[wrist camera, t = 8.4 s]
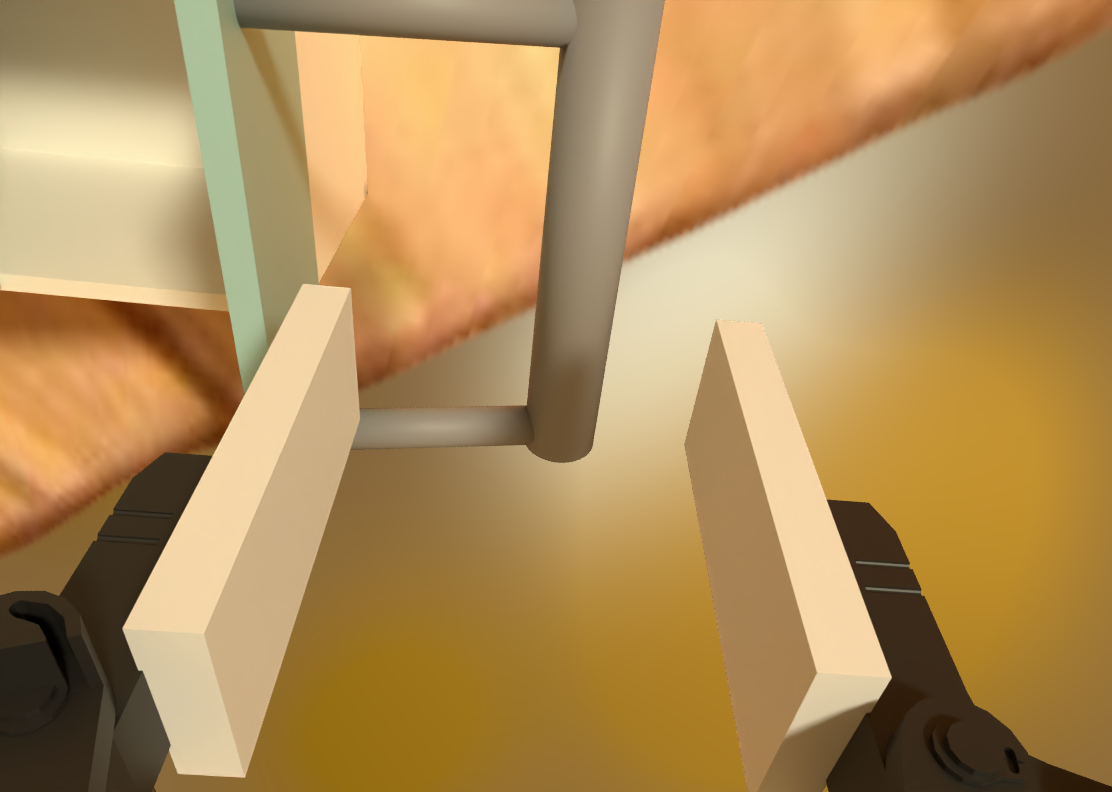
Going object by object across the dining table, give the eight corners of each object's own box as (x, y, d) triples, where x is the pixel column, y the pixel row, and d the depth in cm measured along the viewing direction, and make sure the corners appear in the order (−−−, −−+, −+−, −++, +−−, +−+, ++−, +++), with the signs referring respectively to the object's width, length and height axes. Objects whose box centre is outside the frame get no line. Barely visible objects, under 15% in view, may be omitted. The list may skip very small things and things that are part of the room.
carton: (-74, 148, 33) (-286, 262, 25) (-217, -221, 25) (-582, -227, 17) (367, 192, 33) (299, 318, 25) (350, -155, 26) (247, -132, 18)
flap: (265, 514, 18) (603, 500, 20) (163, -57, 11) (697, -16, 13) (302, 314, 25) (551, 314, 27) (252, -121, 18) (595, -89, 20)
